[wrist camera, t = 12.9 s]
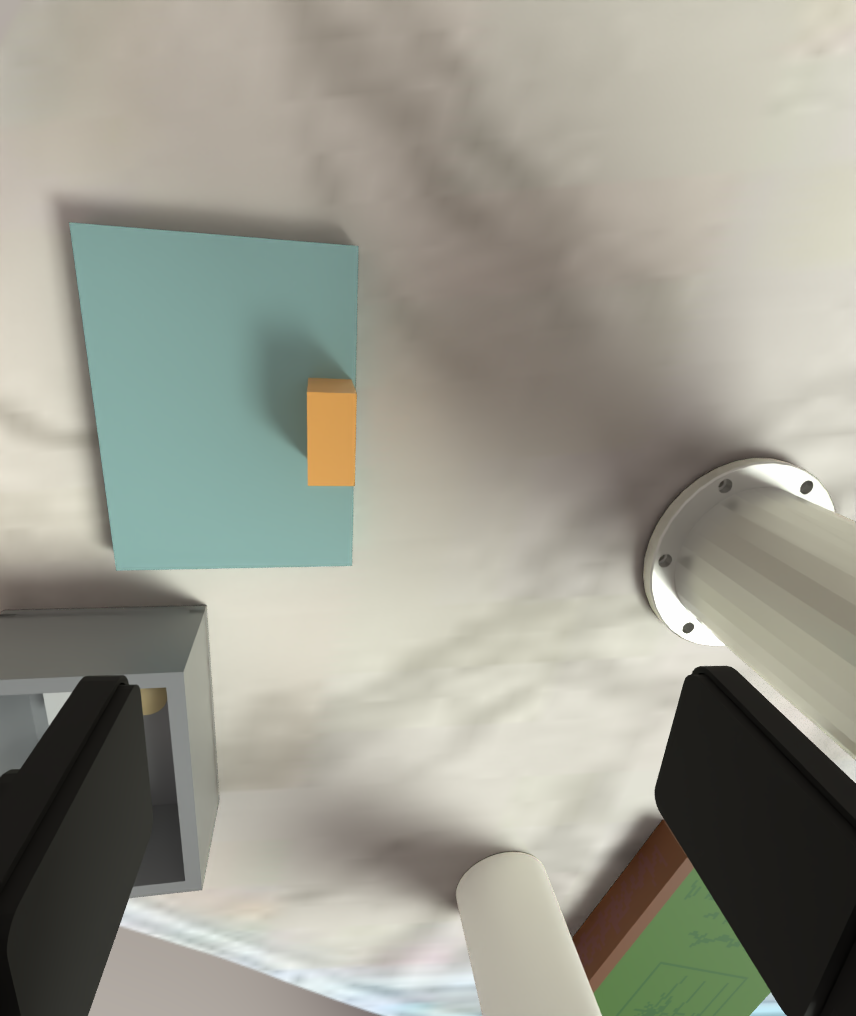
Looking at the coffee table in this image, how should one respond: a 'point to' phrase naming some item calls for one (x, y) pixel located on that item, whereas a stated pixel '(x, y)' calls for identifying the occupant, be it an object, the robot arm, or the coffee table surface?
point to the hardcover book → (665, 943)
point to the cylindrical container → (520, 941)
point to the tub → (165, 702)
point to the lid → (222, 395)
